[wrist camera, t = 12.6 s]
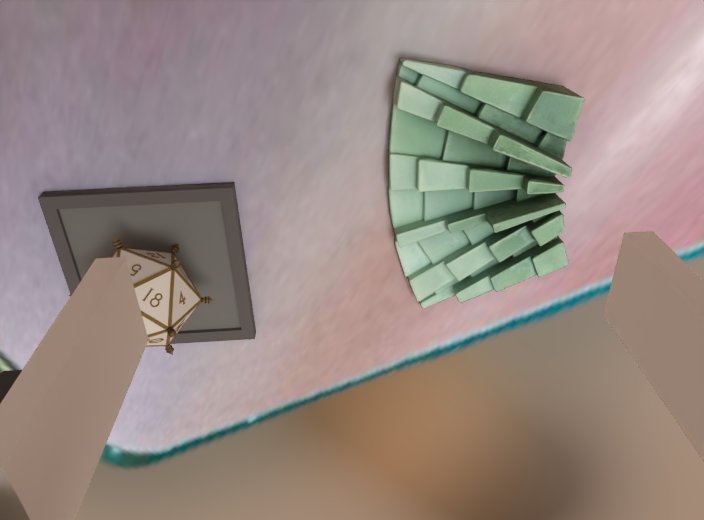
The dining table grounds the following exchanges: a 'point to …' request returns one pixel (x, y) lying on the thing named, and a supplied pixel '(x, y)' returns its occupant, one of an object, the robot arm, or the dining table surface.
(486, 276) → the green curved brick section
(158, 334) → the game die
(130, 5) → the dining table surface
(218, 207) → the mat
